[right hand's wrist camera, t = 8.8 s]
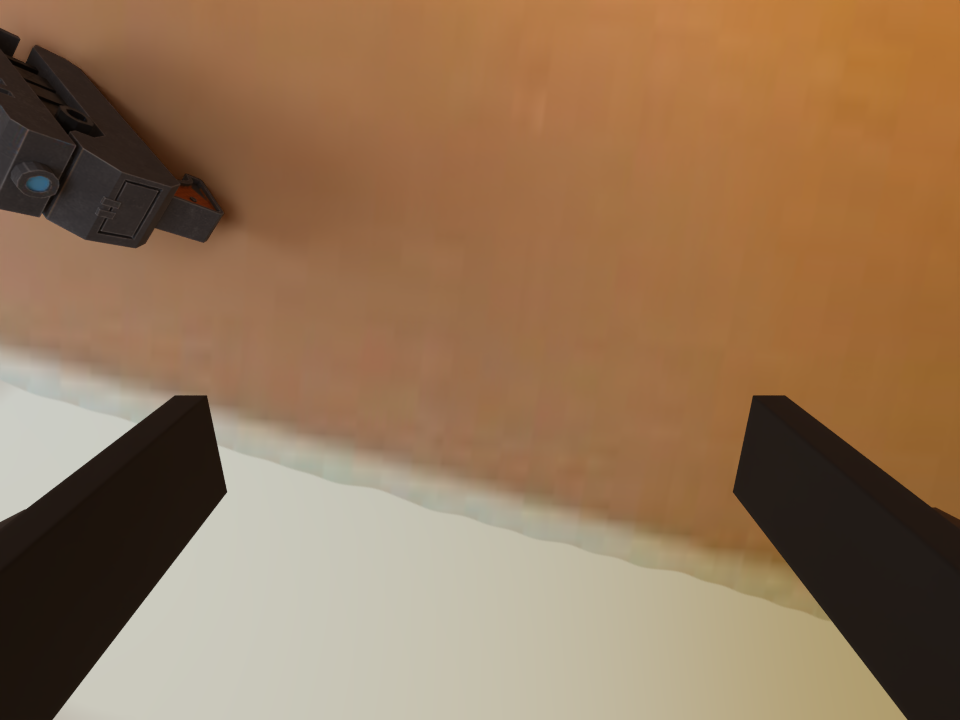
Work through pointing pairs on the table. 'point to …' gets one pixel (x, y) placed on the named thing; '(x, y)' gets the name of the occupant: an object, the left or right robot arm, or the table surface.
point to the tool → (86, 159)
